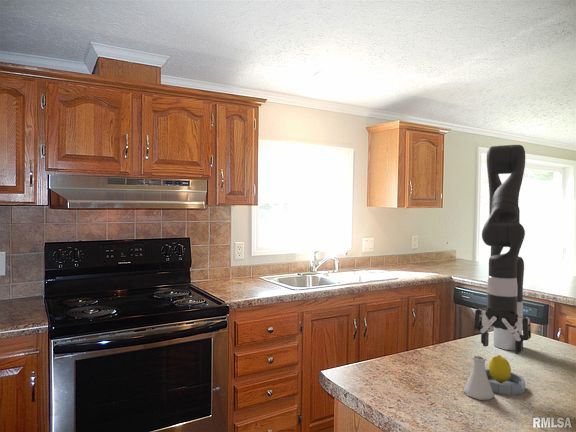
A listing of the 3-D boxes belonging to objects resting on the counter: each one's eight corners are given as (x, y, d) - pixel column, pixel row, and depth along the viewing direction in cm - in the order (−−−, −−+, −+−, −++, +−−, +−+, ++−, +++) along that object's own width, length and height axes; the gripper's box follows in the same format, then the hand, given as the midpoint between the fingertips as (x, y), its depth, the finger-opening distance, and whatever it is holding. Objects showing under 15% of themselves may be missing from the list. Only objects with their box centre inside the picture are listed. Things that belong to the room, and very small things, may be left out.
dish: (487, 374, 124) (487, 365, 124) (530, 386, 115) (530, 377, 115) (471, 384, 116) (471, 376, 116) (515, 398, 107) (515, 389, 107)
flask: (480, 402, 105) (480, 364, 105) (457, 391, 111) (458, 354, 111) (499, 398, 108) (500, 360, 108) (477, 387, 114) (477, 351, 114)
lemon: (485, 382, 117) (483, 354, 117) (498, 378, 119) (497, 351, 119) (502, 388, 112) (500, 359, 112) (516, 384, 114) (514, 356, 114)
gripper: (534, 294, 112) (533, 353, 113) (481, 287, 123) (480, 340, 123) (525, 298, 107) (524, 359, 108) (471, 290, 118) (470, 346, 118)
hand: (501, 349), depth 115 cm, fingers open, 8 cm apart
